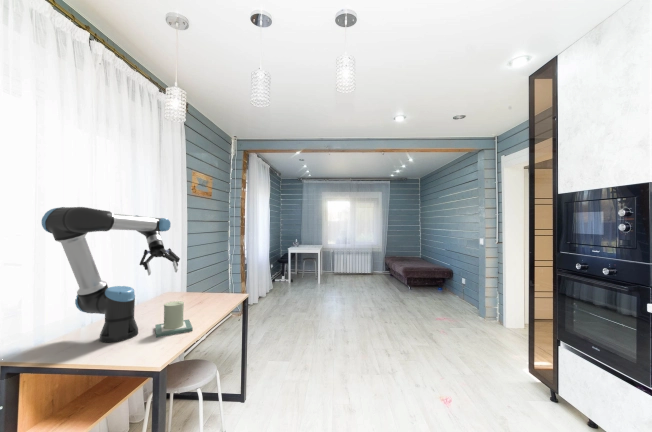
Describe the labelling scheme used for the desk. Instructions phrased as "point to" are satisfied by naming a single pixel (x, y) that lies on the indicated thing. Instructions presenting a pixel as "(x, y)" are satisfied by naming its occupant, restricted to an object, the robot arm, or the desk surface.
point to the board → (164, 332)
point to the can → (173, 314)
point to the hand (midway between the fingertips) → (163, 272)
